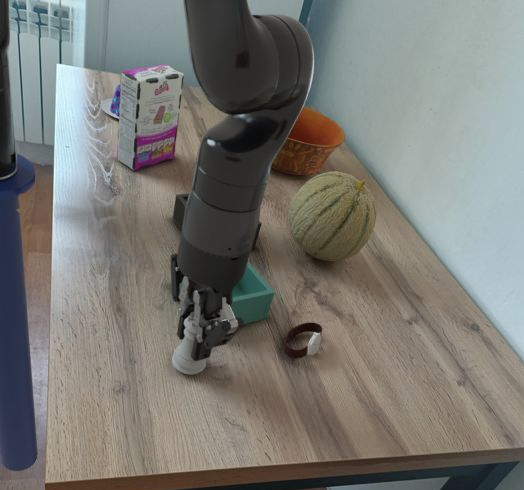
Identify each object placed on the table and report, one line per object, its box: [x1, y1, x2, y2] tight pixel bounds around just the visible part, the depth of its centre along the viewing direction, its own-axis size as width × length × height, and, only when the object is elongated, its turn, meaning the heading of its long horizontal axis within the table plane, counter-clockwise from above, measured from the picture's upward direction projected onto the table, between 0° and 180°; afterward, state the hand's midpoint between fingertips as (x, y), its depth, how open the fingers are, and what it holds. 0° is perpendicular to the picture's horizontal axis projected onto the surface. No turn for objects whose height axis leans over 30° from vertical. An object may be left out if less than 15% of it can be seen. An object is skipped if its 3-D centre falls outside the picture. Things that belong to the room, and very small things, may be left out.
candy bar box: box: [116, 64, 185, 171], centre depth 100 cm, size 11×5×16 cm, turn 143°
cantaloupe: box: [287, 171, 377, 262], centre depth 92 cm, size 15×15×15 cm
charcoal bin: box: [171, 192, 262, 250], centre depth 91 cm, size 11×11×5 cm
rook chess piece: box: [171, 312, 211, 376], centre depth 67 cm, size 4×4×8 cm
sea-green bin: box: [170, 261, 276, 329], centre depth 78 cm, size 11×11×5 cm
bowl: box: [271, 106, 346, 176], centre depth 116 cm, size 21×21×10 cm
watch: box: [283, 321, 323, 360], centre depth 76 cm, size 8×5×4 cm, turn 147°
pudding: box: [100, 84, 120, 120], centre depth 116 cm, size 12×12×5 cm
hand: (192, 346), depth 67 cm, fingers closed on rook chess piece, 3 cm apart
